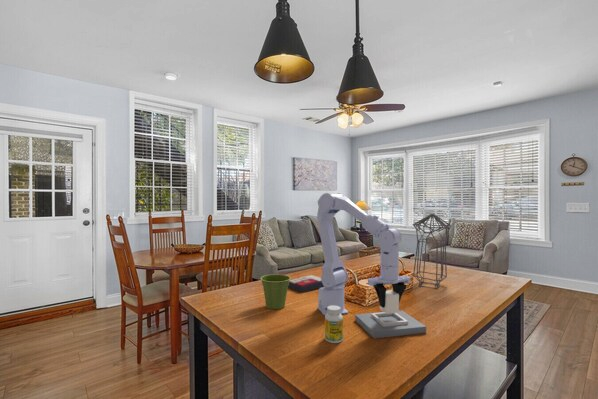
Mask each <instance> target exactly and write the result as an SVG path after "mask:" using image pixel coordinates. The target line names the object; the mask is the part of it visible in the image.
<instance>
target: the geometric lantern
mask: <svg viewBox="0 0 598 399" xmlns="http://www.w3.org/2000/svg"><path fill="white" fill-rule="evenodd" d="M429 220H430V222H429ZM428 222H429V223H428ZM435 222H436V223H437V224H435ZM412 226H413V227H414V228H415V231H416V242H417V243H416V247H415V248H416V249H415V250H416V251H415V257H414V266H413V273H412V276H413V278H414V279H416V280H417V281H418V287H422V288H427V289H428V288H429V289H435V290H436V289H438V288H439V286H440V283H442V282H443V281H444V280H446V278H447V277H448V276H447V274H448V272H447V244H446V243H447V242H446V241H447V238H448V235H449V232H450V230H451V228H452V224H450V223H449V222H447V221H445V220H444V219H442V218H441V217H440V216H438V215H436V214H435V213H430V214H428V215H426V216H425V217H423V218H422V219H419V220H418V221H416V222H414V223H413V224H412ZM422 228H423V229H422ZM425 228H427V229H429V231H425ZM443 230H445V232H444V234H443V236H442V235H441V231H443ZM421 231H422V232H423V234H422V232H421ZM418 232H419V233H420V236H421V237H420V238H419V236H418V235H419V234H418ZM435 232H437V233H438V234H439V236H440V237H441V240H440V239H436V238H435V236H434V234H433V233H435ZM425 234H428V235H427V236H426V238H424V237H423V236H424V235H425ZM430 235H431V236H432V238H433V239H430V238H429V237H430ZM444 237H445V238H444ZM431 241H432V242H431ZM433 241H435V242H433ZM420 243H421V248H420ZM424 243H425V245H424ZM427 244H435V245H436V248H435V249H436V250H435V251H436V255H435V256H436V258H435V259H436V260H435V262H436V264H435V265H436V266H435V267H436V269H435V271H436V272H429V271H425V270H426V269H425V267H426V256H427ZM423 245H424V246H423ZM439 245H440V273H438V267H439V266H438V263H439V262H438V261H439V258H438V257H439V256H438V255H439V250H438V249H439ZM423 247H424V257H423V256H422V254H423ZM419 254H420V255H419ZM422 257H423V258H424V259H423V267H422V268H423V270H422V271H421V263H422ZM444 263H445V264H444ZM444 266H445V267H444ZM444 268H445V269H444ZM444 270H445V275H444ZM415 272H416V273H415ZM421 273H422V275H423V276H422V275H421ZM418 274H419V276H418ZM425 274H429V275H435V279H433V278H429V277H425ZM438 276H440V277H439V278H438ZM425 280H429V281H434V282H427V281H425ZM422 283H423V284H430V285H434V287H432V286H425V285H422Z"/></svg>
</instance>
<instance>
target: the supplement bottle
mask: <svg viewBox="0 0 598 399" xmlns="http://www.w3.org/2000/svg"><path fill="white" fill-rule="evenodd" d="M327 312H328V313H327V314H326V315H324V338H325V341H326V342H328V343H330V344H338V343H341V342H342V341H343V340H344V325H343V324H344V317H343V314H340V312H341V308H340V307H339V306H334V305H332V306H328V307H327Z"/></svg>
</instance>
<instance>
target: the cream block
mask: <svg viewBox="0 0 598 399" xmlns="http://www.w3.org/2000/svg"><path fill="white" fill-rule="evenodd" d="M379 310H380V311H382V312H385V313H386V314H390V313H399V311H400V303H399V294H398V293H396V292H394V291H393V289H389V290H386V295H385V307H381V306H380V305H379Z"/></svg>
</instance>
